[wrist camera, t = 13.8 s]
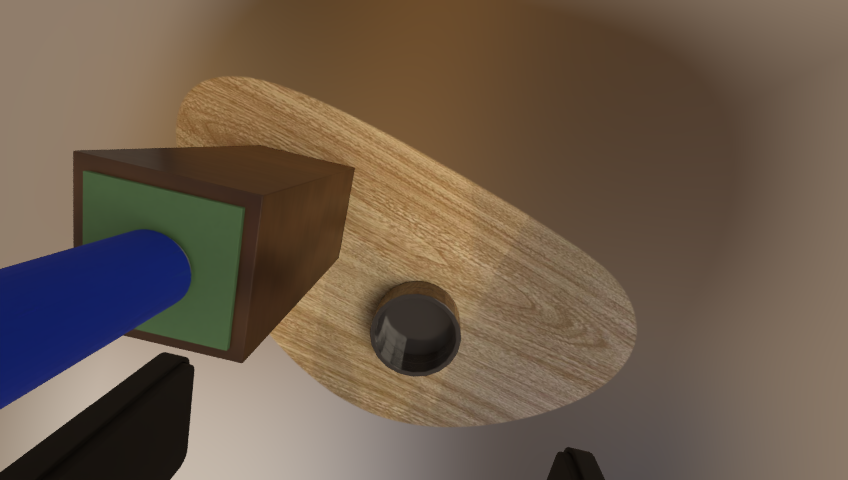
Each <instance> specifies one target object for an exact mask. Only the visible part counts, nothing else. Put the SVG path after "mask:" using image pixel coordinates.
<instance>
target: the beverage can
mask: <svg viewBox="0 0 848 480" xmlns="http://www.w3.org/2000/svg"><path fill="white" fill-rule="evenodd" d="M190 282H191V265H190V262H189V259H188V257H187V255H186V253H185V252H184V250H183V249H182V248H181V247H180V246H179V245H178V244H177V243H176V242H175V241H174V240H172V239H171V238H169V237H168V236H166V235H164V234H162V233H159V232H157V231H153V230H148V229H140V230H134V231H130V232H127V233H123V234H120V235H116V236H113V237H109V238H106V239H102V240H99V241H96V242H92V243H89V244H85V245H82V246H78V247H75V248H71V249H68V250H64V251H61V252H58V253H54V254H51V255H47V256H44V257H40V258H37V259H33V260H30V261H26V262H23V263H19V264H16V265H12V266H9V267H6V268H2V269H0V409H2V408H3V407H5V406H7V405H8V404H10V403H12V402H13V401H15V400H17V399H18V398H20V397H21V396H23V395H25V394H27V393H28V392H30V391H32V390H33V389H35V388H37V387H38V386H40V385H41V384H43V383H45V382H46V381H48V380H50V379H51V378H53V377H55V376H56V375H58V374H59V373H61V372H63V371H64V370H66V369H68V368H70V367H71V366H73V365H75V364H76V363H78V362H79V361H81V360H83V359H84V358H86V357H87V356H89V355H91V354H93V353H94V352H96V351H98V350H99V349H101V348H103V347H104V346H106V345H108V344H109V343H111V342H113V341H114V340H116V339H118V338H119V337H121V336H123V335H124V334H126V333H128V332H129V331H131V330H133V329H134V328H136V327H137V326H139V325H141V324H142V323H144V322H146V321H147V320H149V319H151V318H152V317H154V316H156V315H157V314H159V313H161V312H162V311H164V310H166V309H167V308H169V307H171V306H172V305H174V304H176V303H177V302H178V301H180V300H181V299H182V298H183V297H184V296H185V294H186V293H187V291H188V289H189V287H190Z"/></svg>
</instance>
